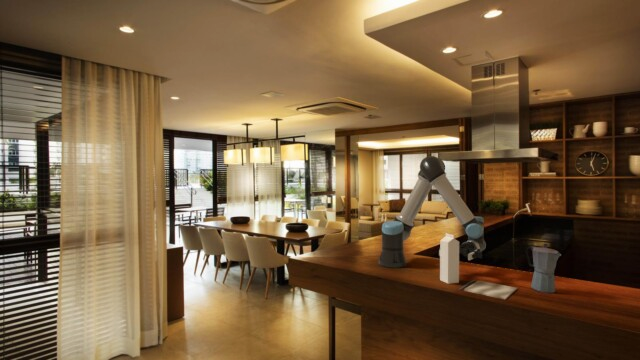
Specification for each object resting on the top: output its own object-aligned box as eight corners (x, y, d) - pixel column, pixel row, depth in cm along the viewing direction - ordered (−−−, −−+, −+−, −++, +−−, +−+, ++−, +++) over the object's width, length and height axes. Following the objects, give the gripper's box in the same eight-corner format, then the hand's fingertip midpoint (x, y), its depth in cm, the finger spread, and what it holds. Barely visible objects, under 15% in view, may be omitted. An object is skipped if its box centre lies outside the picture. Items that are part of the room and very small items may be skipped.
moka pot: (554, 296, 142) (554, 247, 142) (517, 286, 155) (518, 241, 155) (567, 293, 146) (567, 245, 146) (530, 283, 160) (531, 239, 160)
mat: (457, 289, 150) (457, 287, 150) (472, 280, 163) (472, 279, 163) (505, 299, 138) (505, 298, 138) (517, 289, 151) (517, 287, 151)
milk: (447, 284, 158) (448, 235, 158) (439, 280, 164) (439, 233, 164) (459, 282, 160) (459, 234, 160) (450, 279, 166) (450, 232, 165)
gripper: (495, 259, 171) (481, 267, 155) (445, 252, 188) (428, 258, 172) (495, 244, 171) (482, 250, 155) (445, 238, 188) (428, 243, 172)
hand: (453, 255), depth 163 cm, fingers open, 13 cm apart
